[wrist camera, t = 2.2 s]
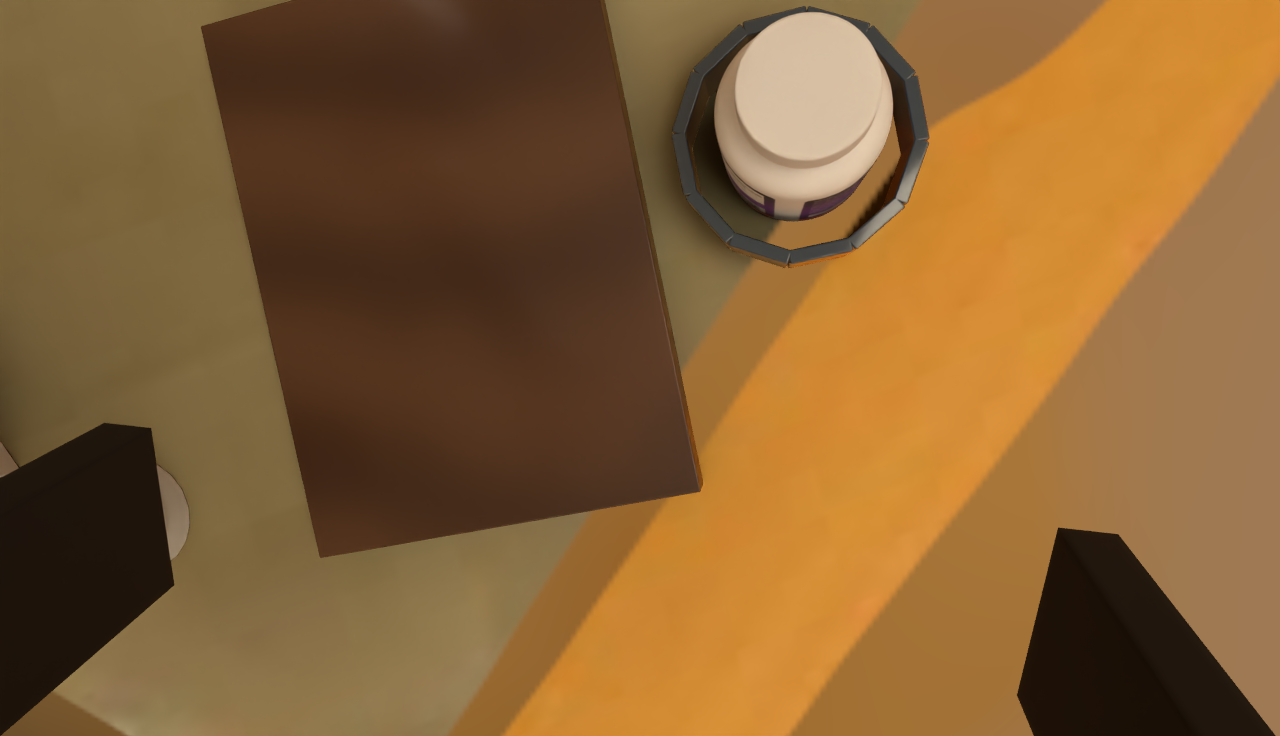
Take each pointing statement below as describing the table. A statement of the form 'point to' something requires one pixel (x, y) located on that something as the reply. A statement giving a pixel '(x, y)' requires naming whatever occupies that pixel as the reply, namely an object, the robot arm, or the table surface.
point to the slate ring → (906, 121)
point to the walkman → (6, 462)
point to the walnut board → (452, 263)
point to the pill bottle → (802, 115)
